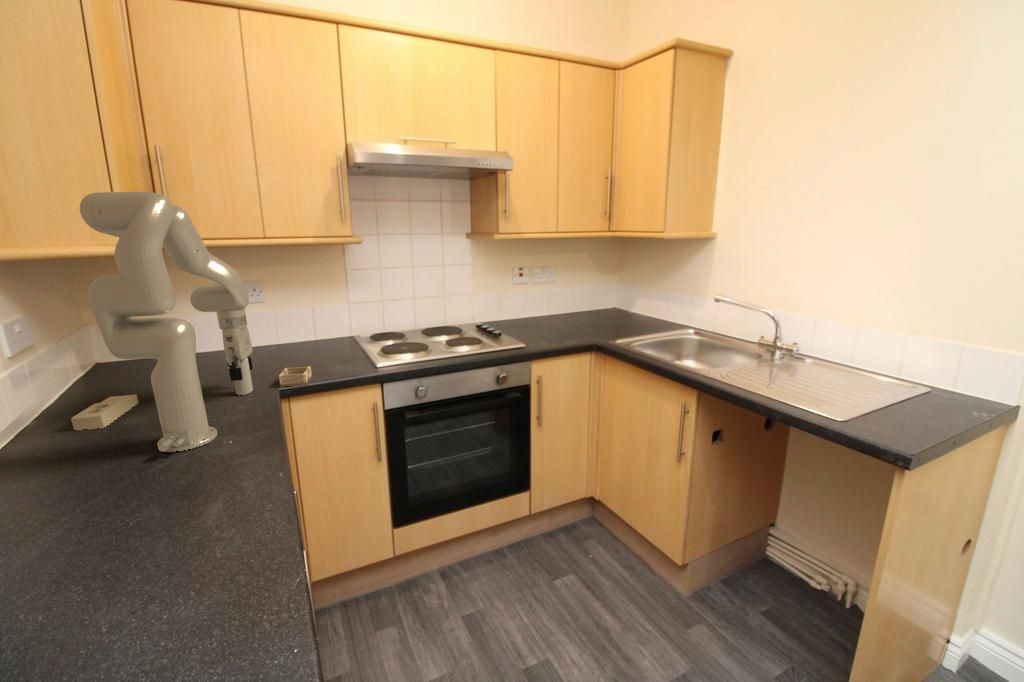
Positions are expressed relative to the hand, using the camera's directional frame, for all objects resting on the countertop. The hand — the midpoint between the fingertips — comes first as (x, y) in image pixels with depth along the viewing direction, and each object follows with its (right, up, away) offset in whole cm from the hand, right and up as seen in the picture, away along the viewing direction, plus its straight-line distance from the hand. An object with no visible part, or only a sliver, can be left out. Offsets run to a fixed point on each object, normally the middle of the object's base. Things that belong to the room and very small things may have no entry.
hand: (242, 374), depth 152 cm
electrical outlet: (-30, -11, -14) cm, 35 cm away
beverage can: (0, -6, +1) cm, 6 cm away
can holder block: (+12, -3, +10) cm, 17 cm away
